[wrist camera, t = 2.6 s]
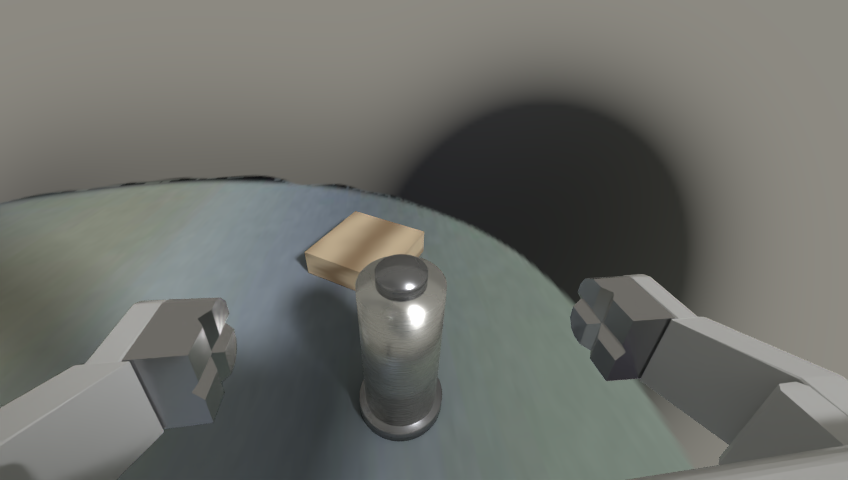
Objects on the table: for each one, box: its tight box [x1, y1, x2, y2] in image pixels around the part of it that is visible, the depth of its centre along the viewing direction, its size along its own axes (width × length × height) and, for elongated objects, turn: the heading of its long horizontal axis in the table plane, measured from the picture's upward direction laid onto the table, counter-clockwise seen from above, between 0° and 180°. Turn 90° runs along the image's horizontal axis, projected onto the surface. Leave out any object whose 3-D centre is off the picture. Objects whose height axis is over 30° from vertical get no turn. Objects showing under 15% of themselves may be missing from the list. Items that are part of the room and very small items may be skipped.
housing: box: [355, 254, 447, 441], centre depth 26 cm, size 7×7×14 cm
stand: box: [305, 211, 424, 290], centre depth 43 cm, size 10×10×3 cm
